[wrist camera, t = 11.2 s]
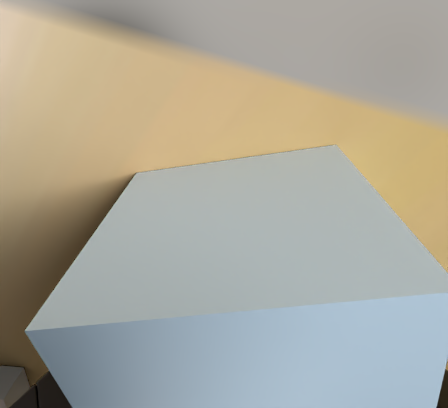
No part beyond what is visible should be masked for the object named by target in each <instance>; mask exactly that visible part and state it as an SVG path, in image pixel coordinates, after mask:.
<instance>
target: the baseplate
mask: <svg viewBox="0 0 448 408" xmlns="http://www.w3.org/2000/svg"><path fill="white" fill-rule="evenodd" d="M29 389H30V386H29V383H28V379H27V376H26V373H25V370H24V368H23V367H11V366H0V408H9V407H10V406H11V405H12V404H13V403H14V402H15V401H17V400H18V399H19V398H20V397H21V396H22V395H23V394H24V393H25V392H26V391H27V390H29Z"/></svg>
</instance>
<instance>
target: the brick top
mask: <svg viewBox="0 0 448 408" xmlns="http://www.w3.org/2000/svg"><path fill="white" fill-rule="evenodd" d="M25 333H26V334H27V336H28V338H29V339H30V341H31V342H32V344H33V346H34V347H35V349H36V350H37V352H38V353H39V355H40V357H41V358H42V360H43V361H44V363H45V365H46V366H47V368H48V369H49V371H50V373H51V374H52V376H53V377H54V379H55V381H56V382H57V384H58V385H59V387H60V389H61V390H62V392H63V393H64V395H65V396H66V398H67V400H68V401H69V403H70V404H71V406H72V408H436V407H437V403H438V398H439V394H440V390H441V385H442V381H443V377H444V372H445V368H446V364H447V359H448V273H447V272H446V271H445V270H444V268H443V267H442V266H441V265H440V264H439V263H438V262H437V260H436V259H435V258H434V257H433V256H432V255H431V253H430V252H429V251H428V250H427V249H426V248H425V247H424V245H423V244H422V243H421V242H420V241H419V240H418V238H417V237H416V236H415V235H414V234H413V233H412V232H411V230H410V229H409V228H408V227H407V226H406V225H405V223H404V222H403V221H402V220H401V219H400V218H399V217H398V215H397V214H396V213H395V212H394V211H393V210H392V208H391V207H390V206H389V205H388V204H387V203H386V202H385V200H384V199H383V198H382V197H381V196H380V195H379V193H378V192H377V191H376V190H375V189H374V188H373V187H372V185H371V184H370V183H369V182H368V181H367V180H366V178H365V177H364V176H363V175H362V174H361V173H360V172H359V170H358V169H357V168H356V167H355V166H354V165H353V164H352V162H351V161H350V160H349V159H348V158H347V157H346V155H345V154H344V153H343V152H342V151H341V150H340V149H339V147H338V146H337V145H331V146H324V147H316V148H309V149H302V150H295V151H288V152H281V153H274V154H267V155H260V156H253V157H246V158H239V159H232V160H224V161H217V162H210V163H203V164H196V165H189V166H182V167H175V168H168V169H161V170H154V171H147V172H140V173H136V174H135V176H134V177H133V179H132V180H131V181H130V183H129V184H128V186H127V187H126V188H125V190H124V191H123V193H122V194H121V195H120V197H119V198H118V200H117V201H116V203H115V204H114V205H113V207H112V208H111V210H110V211H109V212H108V214H107V215H106V217H105V218H104V219H103V221H102V222H101V224H100V225H99V227H98V228H97V229H96V231H95V232H94V234H93V235H92V236H91V238H90V239H89V241H88V242H87V243H86V245H85V246H84V248H83V249H82V251H81V252H80V253H79V255H78V256H77V258H76V259H75V260H74V262H73V263H72V265H71V266H70V267H69V269H68V270H67V272H66V273H65V275H64V276H63V277H62V279H61V280H60V282H59V283H58V284H57V286H56V287H55V289H54V290H53V291H52V293H51V294H50V296H49V297H48V299H47V300H46V301H45V303H44V304H43V306H42V307H41V308H40V310H39V311H38V313H37V314H36V316H35V317H34V318H33V320H32V321H31V323H30V324H29V325H28V327H27V328H26V330H25Z"/></svg>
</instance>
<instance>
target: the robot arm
mask: <svg viewBox="0 0 448 408" xmlns="http://www.w3.org/2000/svg"><path fill="white" fill-rule="evenodd" d="M36 385H37V386H36ZM36 385H33V386H32V387H31V388H30V389H29V390H27V391H26V392H25V393H24V394H23V395H22V396H21V397H20V398H19V399H18V400H17V401H15V402H14V403H13V404H12V405H11V406H10V407H9V408H72V406H71V404H70V403H69V401H68V400H67V398H66V396H65V395H64V393H63V392H62V390H61V389H60V387H59V385H58V384H57V382H56V381H55V379H54V377H53V376H52V374H51V373H50V371H48V372H47V373H46V374H45V375H44V376H43V377H42V378H41V379H39V380H38V381H37V383H36ZM436 408H448V371H447V370H446V369H445V372H444V377H443V381H442V385H441V390H440V394H439V398H438V403H437V407H436Z"/></svg>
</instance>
